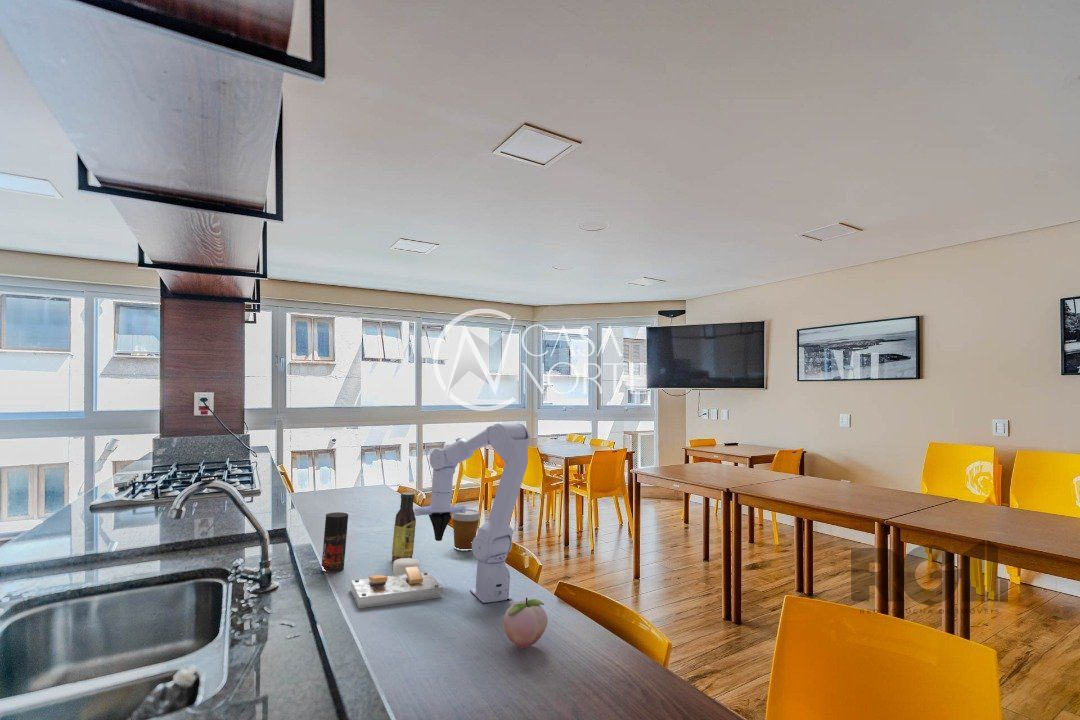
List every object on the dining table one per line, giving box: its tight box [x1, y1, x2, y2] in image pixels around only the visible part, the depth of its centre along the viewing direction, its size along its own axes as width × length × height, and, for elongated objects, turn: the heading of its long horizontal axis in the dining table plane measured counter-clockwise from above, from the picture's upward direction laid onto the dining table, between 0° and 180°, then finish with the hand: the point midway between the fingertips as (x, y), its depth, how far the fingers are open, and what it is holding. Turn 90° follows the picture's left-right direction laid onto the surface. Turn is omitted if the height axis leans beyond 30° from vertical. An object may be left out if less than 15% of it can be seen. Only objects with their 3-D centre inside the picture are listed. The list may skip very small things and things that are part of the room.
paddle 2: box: [405, 566, 423, 584], centre depth 134 cm, size 6×3×1 cm, turn 28°
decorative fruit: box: [503, 597, 548, 649], centre depth 107 cm, size 9×8×10 cm
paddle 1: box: [368, 574, 387, 583], centre depth 130 cm, size 6×3×1 cm, turn 30°
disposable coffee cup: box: [451, 508, 481, 549], centre depth 174 cm, size 10×10×12 cm
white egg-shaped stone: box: [392, 557, 421, 576], centre depth 144 cm, size 7×7×4 cm
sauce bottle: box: [391, 492, 417, 562], centre depth 158 cm, size 6×6×20 cm
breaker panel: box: [350, 571, 443, 609], centre depth 131 cm, size 12×20×3 cm, turn 119°
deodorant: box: [321, 511, 349, 574], centre depth 147 cm, size 6×6×15 cm
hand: (438, 540), depth 148 cm, fingers closed
